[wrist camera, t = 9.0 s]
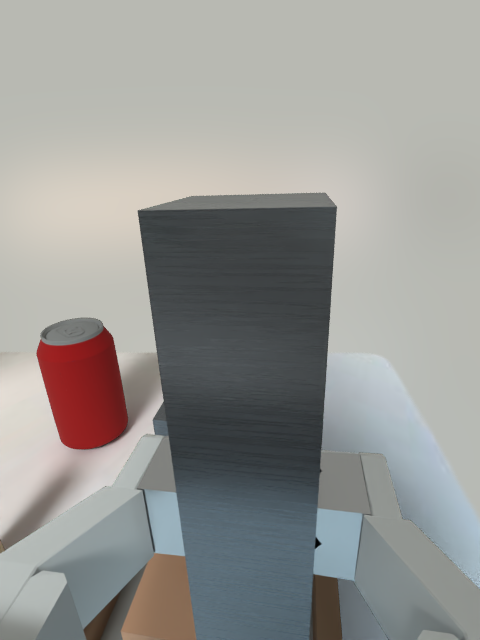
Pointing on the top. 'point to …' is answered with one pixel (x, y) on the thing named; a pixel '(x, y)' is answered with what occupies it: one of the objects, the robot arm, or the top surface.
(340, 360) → the top surface
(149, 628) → the block
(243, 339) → the hook tool
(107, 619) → the wooden tray
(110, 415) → the beverage can
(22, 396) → the top surface
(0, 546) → the plain rod
